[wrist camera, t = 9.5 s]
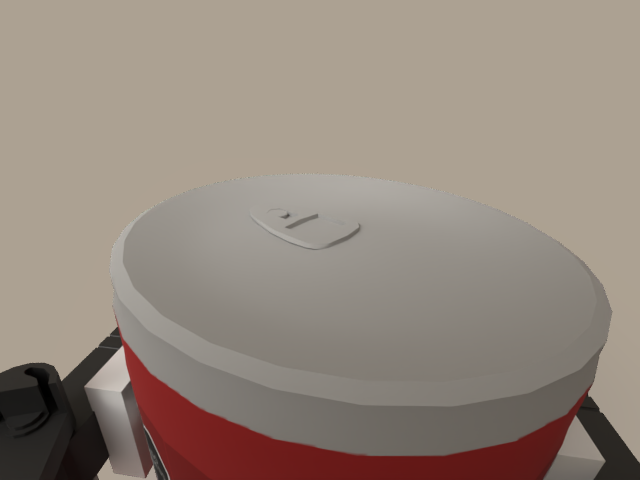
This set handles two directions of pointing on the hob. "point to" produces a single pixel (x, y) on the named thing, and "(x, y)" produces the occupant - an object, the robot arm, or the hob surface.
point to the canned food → (351, 333)
